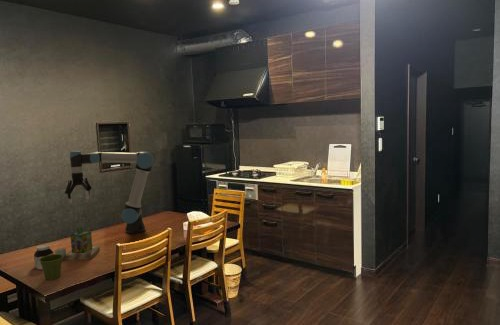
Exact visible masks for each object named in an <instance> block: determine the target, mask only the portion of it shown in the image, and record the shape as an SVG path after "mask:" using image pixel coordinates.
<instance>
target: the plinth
mask: <svg viewBox="0 0 500 325" xmlns="http://www.w3.org/2000/svg"><path fill="white" fill-rule="evenodd" d="M99 252H100V246H99V245H95V246H93V245H92V249H91V250H88V251H86V252H84V253H77V252H72V249H71V250H70V251H69V252H68V253H66V255H65V259H64V261H78V260H79V261H81V260H82V261H83V260H92V259H94V257H95V256H96V255H97V254H98V253H99Z"/></svg>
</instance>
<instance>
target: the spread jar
mask: <svg viewBox="0 0 500 325" xmlns="http://www.w3.org/2000/svg"><path fill="white" fill-rule="evenodd" d="M52 254H54V251H53V250H52V249H51V248H50V244H43V245H42V244H41V245H38V246H36V251H35V252H34V255H33V261H34V267H35V268H36V269H37V270H43V268H42V265H41V263H40V261H39V259H40V258H42V257H44V256H47V255H52Z"/></svg>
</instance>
